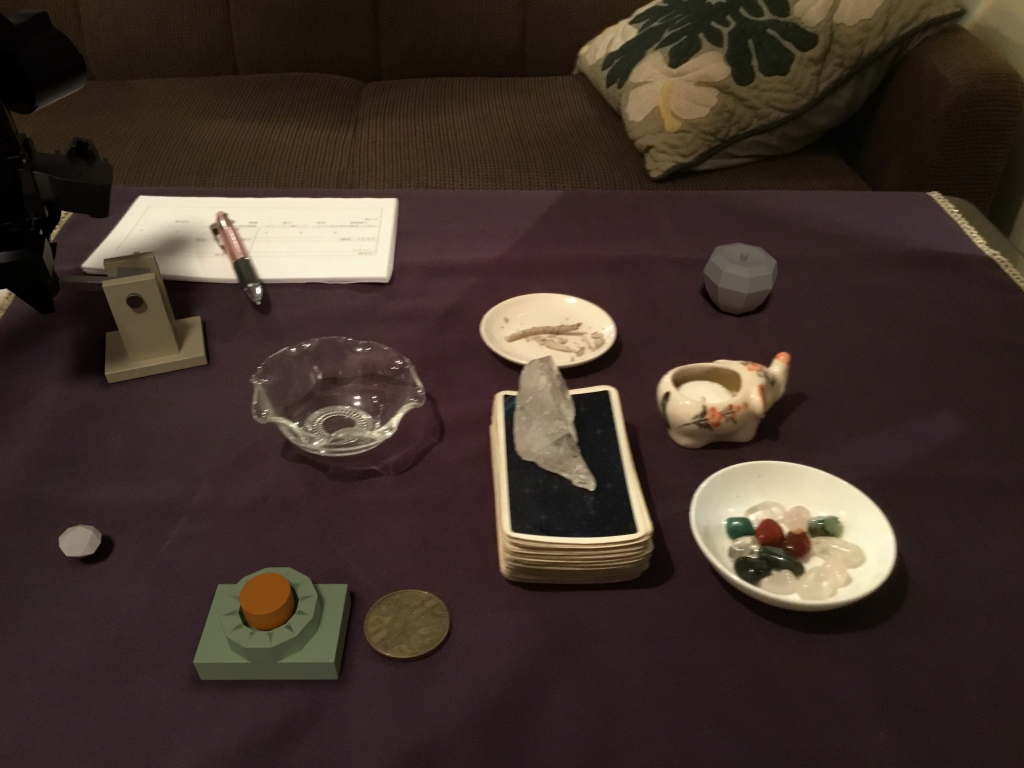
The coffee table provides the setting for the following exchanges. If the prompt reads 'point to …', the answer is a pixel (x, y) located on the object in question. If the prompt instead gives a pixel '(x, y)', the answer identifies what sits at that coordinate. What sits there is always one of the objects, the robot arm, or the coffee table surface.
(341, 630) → the button block
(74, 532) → the gemstone
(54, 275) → the press lever
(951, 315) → the coffee table surface
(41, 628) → the coffee table surface
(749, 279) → the apple
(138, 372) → the lever bracket
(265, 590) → the button
